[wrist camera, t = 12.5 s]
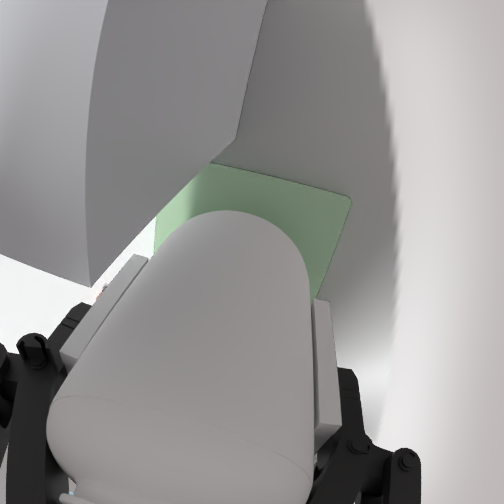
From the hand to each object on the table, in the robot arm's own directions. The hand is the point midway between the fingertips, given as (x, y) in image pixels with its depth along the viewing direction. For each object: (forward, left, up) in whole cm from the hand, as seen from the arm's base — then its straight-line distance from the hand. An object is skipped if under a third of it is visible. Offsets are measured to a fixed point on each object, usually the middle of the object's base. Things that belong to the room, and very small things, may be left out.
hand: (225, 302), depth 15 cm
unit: (+11, +5, -5) cm, 13 cm away
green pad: (0, 0, -5) cm, 5 cm away
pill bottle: (0, 0, -2) cm, 2 cm away
